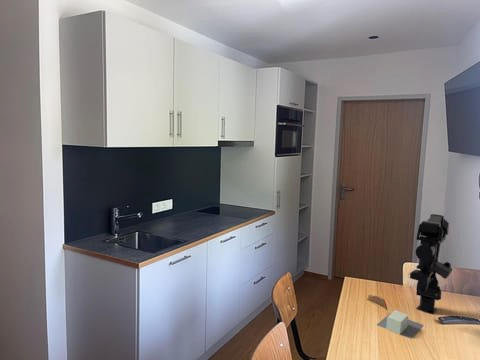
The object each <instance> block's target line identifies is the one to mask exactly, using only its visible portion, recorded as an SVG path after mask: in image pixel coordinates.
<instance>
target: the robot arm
mask: <svg viewBox="0 0 480 360" xmlns="http://www.w3.org/2000/svg"><path fill="white" fill-rule="evenodd" d="M449 225H450V223H449V222H448V220H446V219H445V215H442V214H435V213H432V214H430V217H429V218H428V219H427V220H423V221H421V223H419V225H418V230H417V234H416V238H415V239H416V241H420V243H419V245H418V246H417V248H416V249H415V256H416V257H417V259H418V264H417V265H416V269H414V270H412V271H410V273H409V279H411V280H414V281H417V282H416V294H415V295H416V296H420V298H419V305H418V306H417V307H416V310H418V311H421V312H424V313H425V314H430V315H434V314H435V313H436V311H438V308H436V301H441V300H442V289H441V286H440V285H439V280H438V278H437V275H438V276H441V278H443V279H444V280H446V279H448V278H449V276H450V275H451V273H452V272H453V268H452V263H450V262H448V261H446V262H444V263H443V262H440V261H439V257H440V251H441V247H442V246H441V245H442V243H444V241H446V238H447V236H448V235H449V230H450V226H449Z"/></svg>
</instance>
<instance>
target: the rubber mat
mask: <svg viewBox="0 0 480 360" xmlns="http://www.w3.org/2000/svg"><path fill="white" fill-rule="evenodd" d="M391 313H392V312H390V313H388V314H387V315H386V316H385V317H384V318H382V319H381V320H380V321H379V322H378V323H376V326H377V327H381V328H383V329H386V325H387V317H388V316H389V315H390V314H391ZM424 326H425V325H424V324H422V323H420V322H417V321H414V320H412V319H408V325H407V328H406V329H405V330H404V331H403V332H402V333H401V334H400V335H401V336H403V337H406V338H408V339H411V340H412V339H413V338H414V337H415V336H416V335H417V333H418V332H419V331H420V330H421V329H422V328H423V327H424ZM386 330H387V329H386Z"/></svg>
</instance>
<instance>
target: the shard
mask: <svg viewBox="0 0 480 360" xmlns="http://www.w3.org/2000/svg"><path fill="white" fill-rule="evenodd" d="M365 301H366V302H368V303H371V304H373V305H374V306H375V305H376V306H378V307H379V308H382V309H385V310H387V306H386V302H385V299H384V298H383V297H380V296H378V295H371V294H367V298H366V300H365Z"/></svg>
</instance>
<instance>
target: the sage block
mask: <svg viewBox="0 0 480 360" xmlns="http://www.w3.org/2000/svg"><path fill="white" fill-rule="evenodd" d="M390 313H391V314H390ZM390 313H389V314H390V315H389V314H388V315H389V316H388V317H387V325H386V330H387V331H389V332H392V333H394V334H396V335H400V334H401V333H402V332H403V331H404V330H405V329H406V328H407V325H408V320H409V314H406V312H402V311H399V310H396V309H395V310H393V312H390Z"/></svg>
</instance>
